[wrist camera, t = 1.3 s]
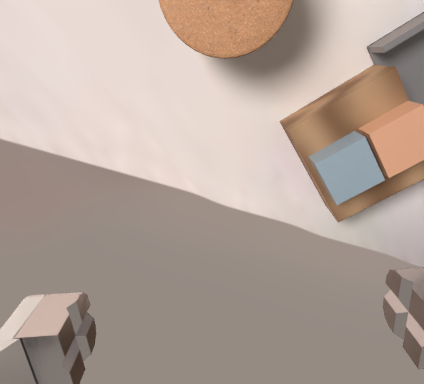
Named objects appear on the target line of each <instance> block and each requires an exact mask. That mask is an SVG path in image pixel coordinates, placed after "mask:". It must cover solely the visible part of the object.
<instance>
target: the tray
mask: <svg viewBox="0 0 424 384" xmlns="http://www.w3.org/2000/svg"><path fill="white" fill-rule="evenodd" d="M367 49H368V52H369V54H370V56H371V59H372V61H373V64H374V65H382V66H394V67H396V69H397V71H398V74H399V76H400V79H401V81H402V84H403V86H404V89H405V92H406V94H407V97H408V99H409V101H411V102H415V103H419V104H423V106H424V12H423V13H421V14H420V15H418V16H416V17H415V18H413V19H411V20H410V21H408V22H407V23H405V24H403V25H402V26H400V27H398V28H397V29H395V30H394V31H392V32H390V33H389V34H387V35H385V36H384V37H382V38H381V39H379V40H377V41H376V42H374V43H372V44H371V45H369V46H368V47H367Z"/></svg>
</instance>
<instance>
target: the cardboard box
mask: <svg viewBox="0 0 424 384" xmlns="http://www.w3.org/2000/svg"><path fill="white" fill-rule="evenodd" d="M406 101H409V99H408V97H407V94H406V92H405V89H404V86H403V84H402V81H401V79H400V76H399V74H398V71H397V69H396V67H394V66H382V65H373V66H371V67H370V68H368V69H366V70H365V71H363V72H361V73H360V74H358V75H356V76H355V77H353V78H351V79H350V80H348V81H346V82H345V83H343V84H341V85H340V86H338V87H336V88H335V89H333V90H331V91H330V92H328V93H326V94H325V95H323V96H321V97H320V98H318V99H316V100H315V101H313V102H311V103H310V104H308V105H306V106H305V107H303V108H301V109H300V110H298V111H296V112H295V113H293V114H291V115H290V116H288V117H286V118H285V119H283V120H281V121H280V123H281V125H282V127H283V129H284V130H285V132H286V134H287V136H288V138H289V139H290V141H291V143H292V145H293V147H294V149H295V150H296V152H297V154H298V156H299V158H300V159H301V161H302V163H303V165H304V167H305V169H306V170H307V172H308V174H309V176H310V178H311V179H312V181H313V183H314V185H315V187H316V189H317V190H318V192H319V194H320V196H321V198H322V200H323V201H324V203H325V205H326V206H327V208H328V209H329V210H330V212H331V213H332V215H333V216H334V217H335V219H336V220H337V221H338V222H340V221H342V220H344V219H346V218H348V217H350V216H352V215H354V214H356V213H358V212H360V211H362V210H364V209H366V208H368V207H370V206H372V205H373V204H375V203H377V202H379V201H381V200H383V199H385V198H387V197H389V196H391V195H393V194H395V193H397V192H399V191H401V190H403V189H405V188H407V187H409V186H411V185H413V184H415V183H417V182H419V181H421V180H423V179H424V160H423V161H421V162H419V163H417V164H415V165H413V166H411V167H410V168H408V169H406V170H404V171H402V172H400V173H398V174H396V175H394V176H392V177H390V178H388V177H387V176H385V175H384V174H383V173H382V175H383V177H384V179H385V181H383V182H381V183H379V184H377V185H375V186H373V187H371V188H369V189H367V190H365V191H363V192H362V193H360V194H358V195H356V196H354V197H352V198H350V199H348V200H346V201H344V202H342V203H340V204H339V205H336V203H335V202H334V201H333V200H332V198H331V197H330V196H329V194H328V193H327V191H326V189H325V187H324V185H323V183H322V181H321V180H320V178H319V176H318V174H317V172H316V170H315V168H314V167H313V165H312V163H311V161H310V159H309V156H311V155H312V154H314V153H316V152H318V151H319V150H321V149H323V148H325V147H327V146H328V145H330V144H332V143H334V142H335V141H337V140H339V139H341V138H343V137H344V136H346V135H348V134H350V133H351V132H353V131H356V132H358V133H359V134H361V133H360V131H359V129H358V128H360V127H362V126H364V125H366V124H367V123H369V122H371V121H373V120H374V119H376V118H378V117H380V116H381V115H383V114H385V113H387V112H389V111H390V110H392V109H394V108H396V107H397V106H399V105H401V104H403V103H405V102H406Z"/></svg>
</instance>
